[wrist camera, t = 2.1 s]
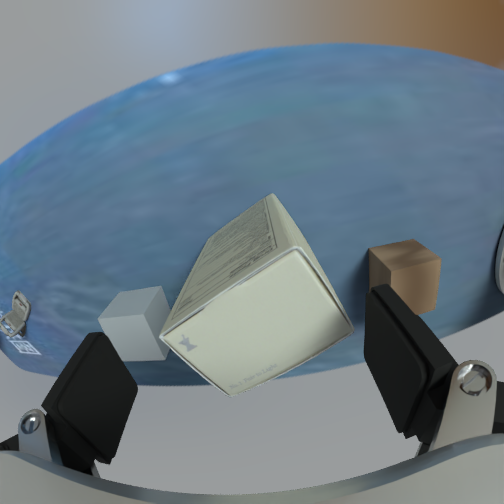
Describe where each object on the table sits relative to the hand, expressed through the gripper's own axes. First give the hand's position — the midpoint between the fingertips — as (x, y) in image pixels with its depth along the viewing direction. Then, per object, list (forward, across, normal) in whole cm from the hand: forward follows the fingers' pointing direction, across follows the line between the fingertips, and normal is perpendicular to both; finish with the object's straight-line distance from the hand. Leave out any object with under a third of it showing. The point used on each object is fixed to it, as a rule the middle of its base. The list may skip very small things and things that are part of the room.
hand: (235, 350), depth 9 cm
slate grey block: (+13, +10, +5) cm, 17 cm away
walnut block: (+12, -12, +5) cm, 18 cm away
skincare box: (+13, -1, 0) cm, 13 cm away
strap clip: (+14, +31, +4) cm, 34 cm away
